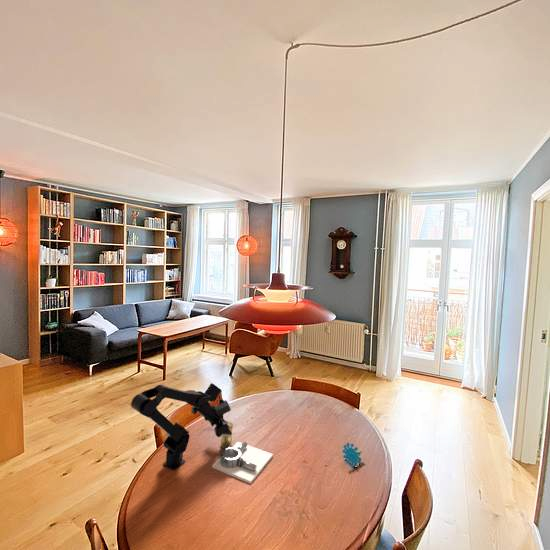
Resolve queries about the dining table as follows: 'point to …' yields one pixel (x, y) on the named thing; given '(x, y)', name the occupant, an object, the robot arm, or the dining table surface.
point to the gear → (351, 454)
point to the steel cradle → (237, 460)
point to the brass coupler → (227, 438)
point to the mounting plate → (250, 456)
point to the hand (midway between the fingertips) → (229, 431)
